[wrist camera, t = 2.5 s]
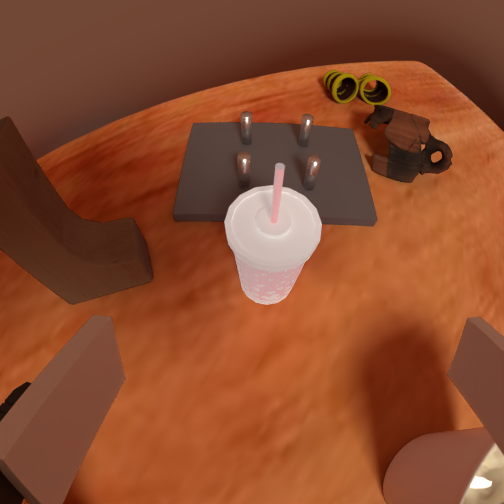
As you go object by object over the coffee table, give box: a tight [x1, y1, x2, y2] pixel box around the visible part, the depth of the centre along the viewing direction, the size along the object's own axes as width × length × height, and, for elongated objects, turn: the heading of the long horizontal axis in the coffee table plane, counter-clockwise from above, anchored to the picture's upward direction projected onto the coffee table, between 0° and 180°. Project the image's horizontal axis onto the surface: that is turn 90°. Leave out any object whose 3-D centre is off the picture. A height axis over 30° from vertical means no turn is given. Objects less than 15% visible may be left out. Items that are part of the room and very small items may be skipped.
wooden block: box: [0, 117, 153, 305], centre depth 19 cm, size 9×4×18 cm, turn 109°
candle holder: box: [383, 427, 504, 504], centre depth 13 cm, size 10×10×12 cm
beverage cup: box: [224, 163, 322, 305], centre depth 21 cm, size 6×6×14 cm
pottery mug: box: [364, 105, 452, 183], centre depth 33 cm, size 12×10×8 cm
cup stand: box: [173, 111, 377, 226], centre depth 31 cm, size 20×14×5 cm
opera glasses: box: [323, 70, 391, 105], centre depth 40 cm, size 10×5×5 cm, turn 96°
